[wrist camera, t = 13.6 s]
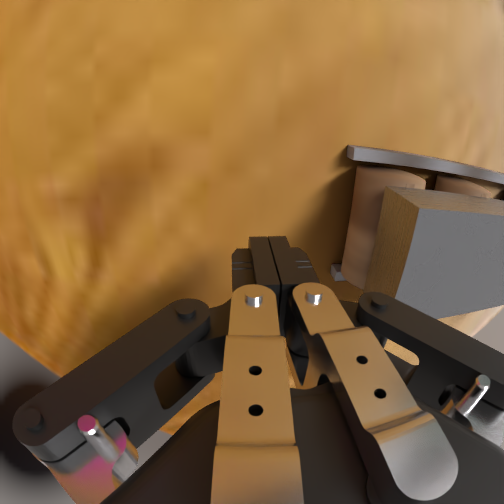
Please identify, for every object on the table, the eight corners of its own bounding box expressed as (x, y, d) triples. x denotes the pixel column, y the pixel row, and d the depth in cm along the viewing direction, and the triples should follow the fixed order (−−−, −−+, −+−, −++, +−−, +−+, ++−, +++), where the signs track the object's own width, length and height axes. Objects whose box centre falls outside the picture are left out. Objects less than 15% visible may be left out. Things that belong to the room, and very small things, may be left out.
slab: (362, 291, 16) (384, 327, 13) (385, 185, 13) (419, 208, 10) (479, 280, 17) (503, 304, 14) (504, 200, 14) (535, 219, 11)
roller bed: (330, 273, 20) (350, 310, 16) (347, 145, 16) (379, 158, 12) (501, 263, 21) (526, 285, 18) (525, 180, 17) (555, 196, 14)
